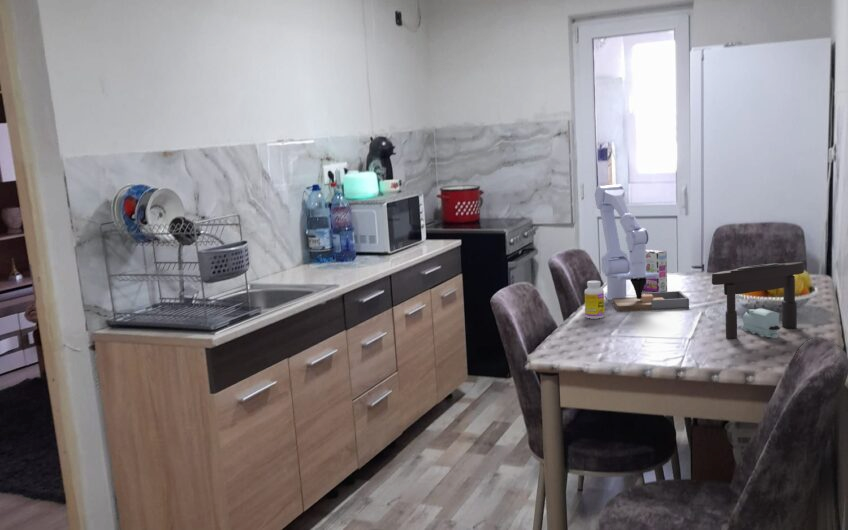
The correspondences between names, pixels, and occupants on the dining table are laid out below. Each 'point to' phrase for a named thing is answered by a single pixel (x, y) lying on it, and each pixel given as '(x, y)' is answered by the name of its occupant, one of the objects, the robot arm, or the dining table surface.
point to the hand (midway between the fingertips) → (638, 298)
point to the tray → (669, 300)
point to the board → (631, 304)
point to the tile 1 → (646, 297)
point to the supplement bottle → (594, 300)
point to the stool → (753, 282)
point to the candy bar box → (656, 270)
